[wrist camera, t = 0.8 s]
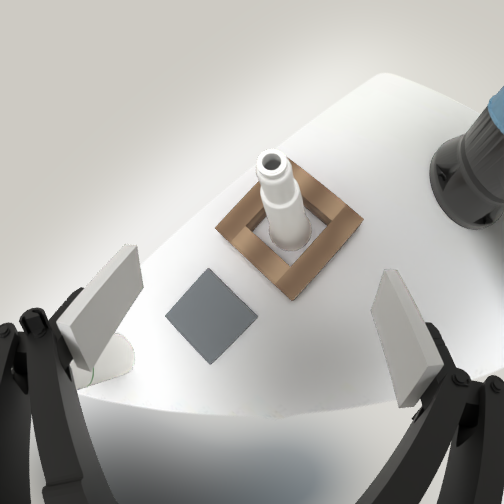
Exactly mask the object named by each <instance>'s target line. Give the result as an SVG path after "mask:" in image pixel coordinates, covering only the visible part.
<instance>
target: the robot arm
mask: <svg viewBox="0 0 504 504" xmlns="http://www.w3.org/2000/svg"><path fill="white" fill-rule="evenodd" d="M430 181H431V186H432V189H433V192H434V195H435V197H436V199H437V201H438V203H439V204H440V206H441V208H442V209H443V210H444V212H445V213H446V214H447V215H448V216H449V217H450V218H451V219H452V220H453V221H455V222H456V223H458V224H459V225H461V226H463V227H466V228H469V229H482V228H485V227H487V226H489V225H491V224H493V223H495V222H496V221H497V220H498V219H499V218H500V217H501V215H502V214H503V212H504V86H503V87H502V88H501V90H500V91H499V92H498V93H497V94H496V95H494V96H493V97H492V98H491V99H490V100H489V104H488V106H487V107H486V109H485V110H484V111H483V112H482V114H481V115H480V116H479V117H478V119H477V120H476V121H475V123H474V124H473V125H472V126H471V127H470V129H469V130H468V131H467V133H466V134H464V135H461V136H459V137H456V138H453V139H451V140H448V141H447V142H445V143H444V144H443V145H442V146H441V147H440V148H439V149H438V150H437V152H436V153H435V155H434V156H433V158H432V161H431V165H430ZM143 288H144V287H143V281H142V275H141V269H140V263H139V256H138V249H137V246H136V245H126V244H125V245H124V246H123V247H122V248H121V249H120V250H119V251H118V252H117V253H116V254H115V255H114V256H113V257H112V259H111V260H110V261H109V262H108V263H107V264H106V265H105V266H104V267H103V268H102V269H101V270H100V271H99V273H98V274H97V275H96V276H95V277H94V278H93V279H92V280H91V281H90V283H89V284H88V285H87V286H86V287H85V288H82V287H81V288H79V289H78V290H76V291H74V292H73V293H72V294H71V295H70V296H69V297H68V298H67V301H65V302H64V303H63V305H62V306H60V308H59V309H58V310H57V311H56V312H55V314H54V315H53V316H52V317H51V318H50V319H49V321H48V319H47V316H46V314H45V311H44V310H43V309H41V308H32V309H29V310H27V311H26V312H24V313H23V314H22V316H21V317H20V320H19V322H20V324H21V326H22V328H23V330H24V332H18V331H17V330H16V328H15V326H14V324H12V323H4V324H2V325H0V504H31V498H30V479H29V445H30V426H31V414H32V419H33V425H34V431H35V437H36V442H37V446H38V451H39V456H40V460H41V464H42V468H43V472H44V476H45V479H46V486H45V487H43V489H42V494H43V499H44V502H45V504H118V502H117V501H116V499H115V498H114V496H113V494H112V492H111V490H110V487H109V485H108V483H107V480H106V478H105V476H104V473H103V471H102V469H101V466H100V463H99V461H98V458H97V456H96V453H95V450H94V447H93V444H92V441H91V439H90V436H89V433H88V429H87V426H86V423H85V420H84V416H83V413H82V409H81V406H80V402H79V398H78V394H77V390H76V386H75V382H74V377H73V373H72V369H71V367H70V365H69V364H70V363H71V361H72V360H74V362H75V364H76V366H77V368H80V369H83V370H86V371H89V372H91V371H92V369H93V367H94V366H95V364H96V362H97V361H98V359H99V357H100V355H101V354H102V352H103V350H104V349H105V347H106V346H107V344H108V342H109V341H110V339H111V337H112V336H113V334H114V333H115V331H116V329H117V328H118V326H119V325H120V323H121V321H122V320H123V318H124V317H125V315H126V314H127V312H128V311H129V309H130V307H131V306H132V304H133V303H134V301H135V300H136V298H137V297H138V295H139V294H140V292H141V291H142V289H143ZM371 312H372V315H373V318H374V322H375V325H376V328H377V331H378V334H379V337H380V341H381V344H382V347H383V351H384V354H385V357H386V361H387V364H388V368H389V371H390V375H391V379H392V383H393V386H394V390H395V394H396V398H397V402H398V406H399V408H405V407H414V406H415V405H416V403H417V402H418V401H419V399H421V402H422V407H421V408H420V409H419V410H418V412H417V413H416V414H415V415H414V416H413V418H412V420H413V422H412V423H411V425H410V427H409V428H408V430H407V432H406V434H405V435H404V437H403V438H402V440H401V442H400V443H399V445H398V446H397V448H396V449H395V451H394V453H393V454H392V456H391V457H390V459H389V460H388V462H387V463H386V464H385V466H384V467H383V469H382V470H381V471H380V473H379V474H378V475H377V477H376V478H375V480H374V481H373V482H372V483H371V485H370V486H369V488H368V489H367V490H366V491H365V493H364V494H363V495H362V496H361V497H360V499H359V500H358V501H357V502H356V503H355V504H419V502H420V501H421V499H422V497H423V496H424V494H425V492H426V491H427V489H428V487H429V485H430V484H431V481H432V480H433V478H434V476H435V474H436V472H437V470H438V468H439V466H440V464H441V462H442V460H443V458H444V456H445V454H446V452H447V450H448V447H449V445H450V442H451V448H450V452H449V457H448V462H447V467H446V471H445V475H444V479H443V483H442V487H441V491H440V494H439V498H438V501H437V504H501V501H502V496H503V490H504V381H503V380H502V379H501V378H499V377H497V376H494V375H491V376H489V377H488V378H487V379H486V380H485V382H484V383H482V382H477V381H472V380H471V379H470V376H469V375H468V374H467V373H466V372H465V371H464V370H462V369H459V368H456V366H455V364H454V362H453V360H452V357H451V355H450V353H449V351H448V349H447V347H446V346H445V343H444V341H443V339H442V337H441V335H440V333H439V331H438V329H437V328H436V327H435V326H434V325H433V324H432V323H425V322H424V320H423V318H422V316H421V314H420V312H419V310H418V308H417V306H416V304H415V302H414V300H413V298H412V297H411V295H410V293H409V291H408V289H407V287H406V285H405V284H404V282H403V280H402V278H401V276H400V275H399V273H398V271H397V270H388V269H384V272H383V275H382V279H381V282H380V285H379V288H378V291H377V294H376V297H375V300H374V303H373V306H372V309H371ZM451 440H452V441H451Z"/></svg>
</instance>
